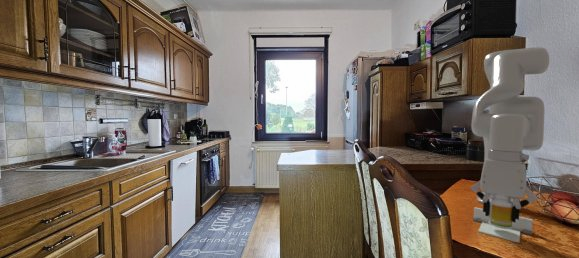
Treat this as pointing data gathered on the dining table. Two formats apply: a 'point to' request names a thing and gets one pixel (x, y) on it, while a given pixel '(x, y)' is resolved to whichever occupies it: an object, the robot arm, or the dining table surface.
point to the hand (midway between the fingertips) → (500, 217)
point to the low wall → (519, 225)
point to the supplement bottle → (500, 212)
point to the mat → (500, 232)
